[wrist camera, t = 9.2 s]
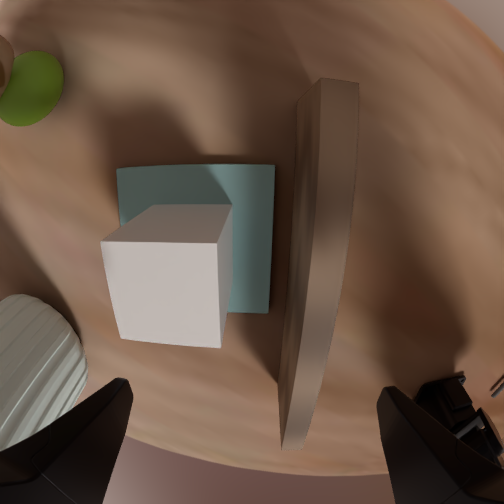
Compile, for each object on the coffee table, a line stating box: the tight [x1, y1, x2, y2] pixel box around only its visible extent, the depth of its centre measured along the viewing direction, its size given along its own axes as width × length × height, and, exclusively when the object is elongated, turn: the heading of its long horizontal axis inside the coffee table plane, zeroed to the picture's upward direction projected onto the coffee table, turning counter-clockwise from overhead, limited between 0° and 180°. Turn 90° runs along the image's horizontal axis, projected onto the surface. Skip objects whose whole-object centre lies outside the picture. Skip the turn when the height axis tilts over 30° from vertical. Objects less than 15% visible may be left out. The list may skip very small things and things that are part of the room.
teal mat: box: [116, 164, 275, 313], centre depth 19 cm, size 10×10×1 cm
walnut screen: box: [278, 78, 359, 450], centre depth 16 cm, size 22×2×7 cm, turn 179°
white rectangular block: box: [100, 204, 233, 348], centre depth 15 cm, size 5×5×7 cm
